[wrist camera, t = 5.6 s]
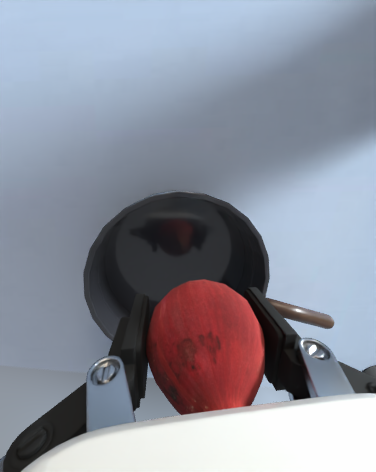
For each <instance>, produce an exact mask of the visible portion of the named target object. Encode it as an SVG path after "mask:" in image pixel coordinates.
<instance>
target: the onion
mask: <svg viewBox="0 0 376 472" xmlns="http://www.w3.org/2000/svg"><path fill="white" fill-rule="evenodd" d="M146 355H147V359H148V362H149V366H150V369H151V372H152V374H153V377H154V379H155V381H156V383H157V385H158V386H159V388H160V389H161V391H162V392H163V393H164V395H165V396H166V398H167V399H168V401H169V402H170V403H171V404H172V406H173V407H174V408H175V409H176V410H177V412H178V413H180V414H181V415H186V414H193V413H200V412H208V411H215V410H222V409H230V408H238V407H245V406H251V404H252V402H253V401H254V398H255V396H256V394H257V392H258V389H259V387H260V384H261V382H262V379H263V375H264V370H265V344H264V336H263V331H262V328H261V326H260V324H259V322H258V320H257V318H256V316H255V314H254V312H253V310H252V309H251V307H250V305H249V303H248V301H247V300H246V299H245V298H243V297H242V296H241V295H240V294H238V293H237V292H235V291H234V290H233V289H231V288H230V287H228V286H227V285H225V284H223V283H218V282H214V281H209V280H205V279H203V280H194V281H188V282H186V283H184V284H182V285H180V286H177V287H175V288H173V289H172V290H171V291H170V292H169V293H168V294H167V295H166V296H165V297H164V298H163V299H162V300H161V301H160V302H159V303H158V304H157V305H156V306H155V308H154V312H153V315H152V318H151V322H150V326H149V329H148V333H147V337H146Z"/></svg>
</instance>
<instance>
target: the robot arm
mask: <svg viewBox="0 0 376 472" xmlns="http://www.w3.org/2000/svg"><path fill="white" fill-rule="evenodd" d="M243 298H245V299H246V300H247V301H248V303H249V305H250V307H251V309H252V310H253V312H254V314H255V316H256V318H257V320H258V322H259V324H260V326H261V328H262V331H263V336H264V344H265V370H264V374H265V376H266V378H267V380H268V381H269V383H272V384H273V386H274V388H275V389H276V391H277V390H286V391H287V392H289V398H290V401H284V402H276V403H269V404H261V405H253V406H245V407H238V408H230V409H222V410H215V411H208V412H200V413H193V414H186V415H179V416H171V417H165V418H157V419H151V420H145V421H138V422H136V420H135V415H134V411H135V410H136V408H139V407H140V399H141V398H145V390H146V380H147V370H148V359H147V355H146V337H147V333H148V329H149V326H150V308H149V296H146V295H145V294H136V296H135V299H134V303H133V307H132V310H131V314H130V317H122V318H121V319H120V322H119V325H118V328H117V330H116V333H115V336H114V339H113V342H112V345H111V348H110V351H109V354H108V356H106V357H103V358H101V359H99V360H98V361H97V362H95V363H94V364H93V365H92V366H91V368H90V369H89V371H88V373H87V378H86V383H84V384H83V385H82V386H80V387H79V388H78V389H77V390H75V391H74V392H73V393H71V394H70V395H69V396H68V397H66V398H65V399H64V400H62V401H61V402H60V403H58V404H57V405H56V406H55V407H53V408H52V409H51V410H50V411H48V412H47V413H45V414H44V415H43V416H42V417H41V418H39V419H38V420H37V421H35V422H34V423H33V424H31V425H30V426H29V427H27V428H26V429H25V430H24V431H23V432H22V433H21V434H20V435H19V436H18V437H17V438H16V439H15V441H14V442H13V443H12V445H11V446H10V448H9V450H8V451H7V453H6V455H5V456H4V457H2V458H1V459H0V472H376V378H374V377H372V376H370V375H367V374H365V373H363V372H361V371H359V370H356V369H354V368H352V367H350V366H348V365H345V364H343V363H341V362H339V361H337V359H336V358H335V356H334V354H333V352H332V351H331V350H330V349H329V348H328V347H327V346H326V345H325V344H323V343H322V342H320V341H318V340H315V339H312V338H302V339H301V338H300V336H299V335H298V334H297V333H296V332H295V330H294V329H293V328H292V327H291V326H290V325H289V324H288V323H287V321H286V320H285V319H284V318H283V317H282V316H281V315H280V313H279V312H278V311H277V310H276V309H275V308H274V307H273V305H272V304H271V303H270V302H269V301H268V300H267V299H266V297H265V296H264V295H263V294H262V293H261V292H260V291H259V289H258V288H256V287H251V288H247V289H246V290H245V291H244V297H243Z"/></svg>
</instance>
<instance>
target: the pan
mask: <svg viewBox="0 0 376 472" xmlns="http://www.w3.org/2000/svg"><path fill="white" fill-rule="evenodd" d="M269 277H270V276H269V257H268V254H267V251H266V248H265V245H264V242H263V240H262V237H261V235H260V234H259V232H258V231H257V229H256V228H255V227H254V225H253V224H252V223H251V221H250V220H249V218H248V217H246V216H245V215H244V214H242V213H241V212H240V211H239V210H237V209H236V208H235V207H233V206H232V205H231V204H229V203H227V202H225V201H222V200H220V199H217V198H214V197H212V196H209V195H207V194H202V193H196V192H186V191H168V192H163V193H157V194H152V195H150V196H148V197H146V198H144V199H142V200H140V201H138V202H136V203H134V204H132V205H130V206H128V207H126V208H125V209H123V210H122V211H121V212H120V213H119V214H118V215H117V216H116V217H114V218H113V219H112V220H111V221H110V222H109V223H108V224H106V225H105V226H104V227H103V229H102V231H101V232H100V234H99V235H98V237H97V239H96V240H95V242H94V243H93V245H92V247H91V248H90V251H89V254H88V258H87V262H86V266H85V269H84V294H85V299H86V302H87V305H88V307H89V310H90V313H91V315H92V318H93V320H94V321H95V322H96V323H97V325H98V326H99V327H100V329H101V330H102V331H103V333H104V334H105V335H106V336H107V337H108V338H109V339H111V340H112V341H113V339H114V336H115V333H116V330H117V328H118V325H119V322H120V319H121V318H122V317H130V314H131V310H132V307H133V303H134V299H135V296H136V294H145V295H146V296H149V308H150V322H151V318H152V315H153V312H154V308H155V306H156V305H157V304H158V303H159V302H160V301H161V300H162V299H163V298H164V297H165V296H166V295H167V294H168V293H169V292H170V291H171V290H172V289H173V288H175V287H177V286H180V285H182V284H184V283H186V282H188V281H194V280H203V279H205V280H209V281H214V282H218V283H223V284H225V285H227V286H228V287H230V288H231V289H233V290H234V291H235V292H237V293H238V294H240V295H241V296H242V297H244V291H245V290H246V289H247V288H251V287H256V288H258V289H259V291H260V292H261V293H262V294H263V295H264V296H266V292H267V287H268V283H269Z"/></svg>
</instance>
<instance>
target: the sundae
mask: <svg viewBox="0 0 376 472" xmlns="http://www.w3.org/2000/svg"><path fill="white" fill-rule="evenodd" d="M363 373H365V374H367V375H370V376H372V377H374V378H376V366H372V367H369V368H368V369H366V370H365V371H363Z"/></svg>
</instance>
